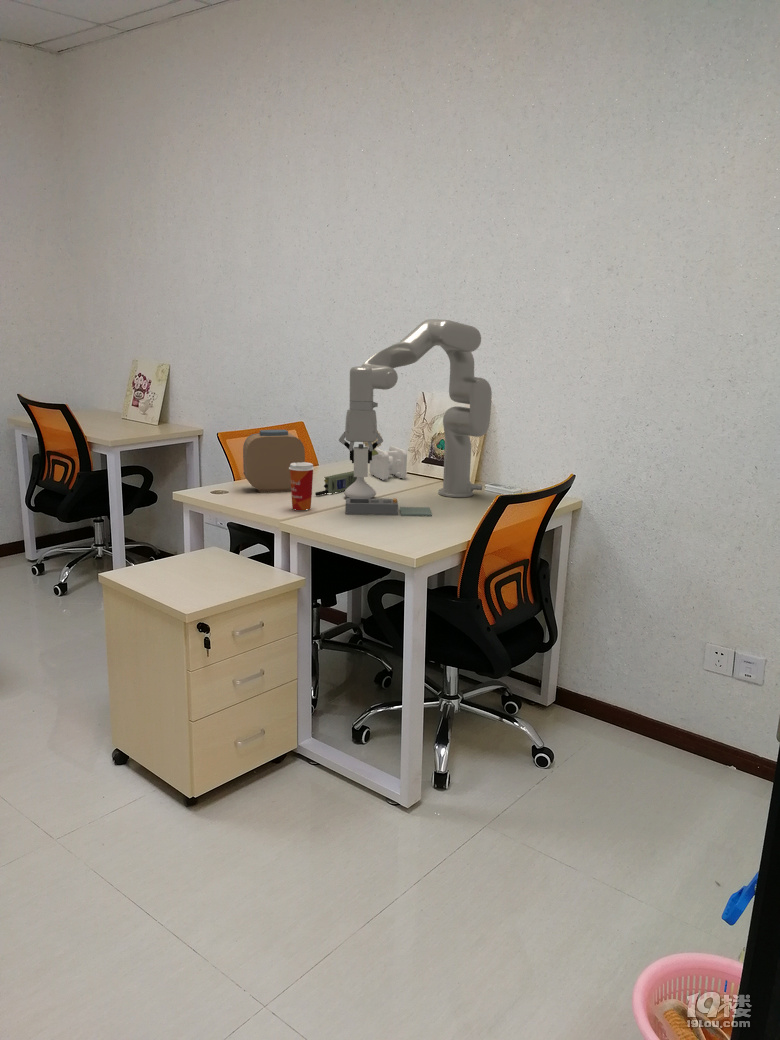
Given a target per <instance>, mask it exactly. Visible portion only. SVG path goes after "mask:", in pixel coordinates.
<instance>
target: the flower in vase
mask: <svg viewBox="0 0 780 1040" xmlns="http://www.w3.org/2000/svg"><path fill="white" fill-rule="evenodd" d="M377 432H378V433H379V435H380V436H381V437H382V438H383V436H382V435H381V432H379V430H378V429H377ZM377 440H378V439H376V441H377ZM376 441H374V442H372V444H374V443H375V442H376ZM362 444H363V445H364V447H368V448H369V446H368V442H362ZM381 446H382V443H381V444H379V445H378V446H377V447H376V448H379V447H381ZM377 454H379V453H378V452H377V451H376V450H375V449H374V450H373V451H372V456H374V455H377ZM343 495H344V497H346V498H370V499H373V498H374V497H376V495H377V491H376V490H375V489H374V488H373V487H372V486H371V485H370V484H369V483H367V482H366V481H365V477H357V479H356V481H355V482H354V483H353V484H352V485H350V486H349V487H348V488H347V489H346V490H345V491H344V492H343Z"/></svg>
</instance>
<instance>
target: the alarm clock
mask: <svg viewBox="0 0 780 1040" xmlns="http://www.w3.org/2000/svg"><path fill="white" fill-rule="evenodd" d="M242 449H243V450H242V459H243V463H242V465H243V467H242V468H243V476H244V477H245V479H246V480H247V482H248V483H249V484H250V485H251V486H252V487H253V488H255V489H256V490H257V491H258V493H281V491H285V492H291V479H290V469H289V467H290V464H291V463H297V462H301V463H302V462H306V460H305V459H306V458H305V457H306V452H305V451H306V449H305V446H304V443H303V442H302V440H301V439H299V438H298V437H297V436H295V435H294V434H292V433H289V431H288V430H287V429H260V430H259V433H252V434H250V435H249V436H247V437H246V438H245V440H244V442H243V447H242Z"/></svg>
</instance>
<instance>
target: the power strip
mask: <svg viewBox="0 0 780 1040" xmlns="http://www.w3.org/2000/svg"><path fill="white" fill-rule="evenodd" d="M344 504H345V508H344V510H345V512H344V513H345V515H368V514H374V516H375V515H377V516H378V515H379V516H380V515H383V516H384V515H385V516H398V515H399V501H398V498H349V497H346V498H345V503H344Z"/></svg>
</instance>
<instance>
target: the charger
mask: <svg viewBox="0 0 780 1040" xmlns="http://www.w3.org/2000/svg"><path fill="white" fill-rule="evenodd" d="M353 448H354V463H353V471H354V477H364V478H369V475H368V474H369V464H368V447H366V446H364V444H363V443H359V444H358V446H353Z"/></svg>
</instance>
